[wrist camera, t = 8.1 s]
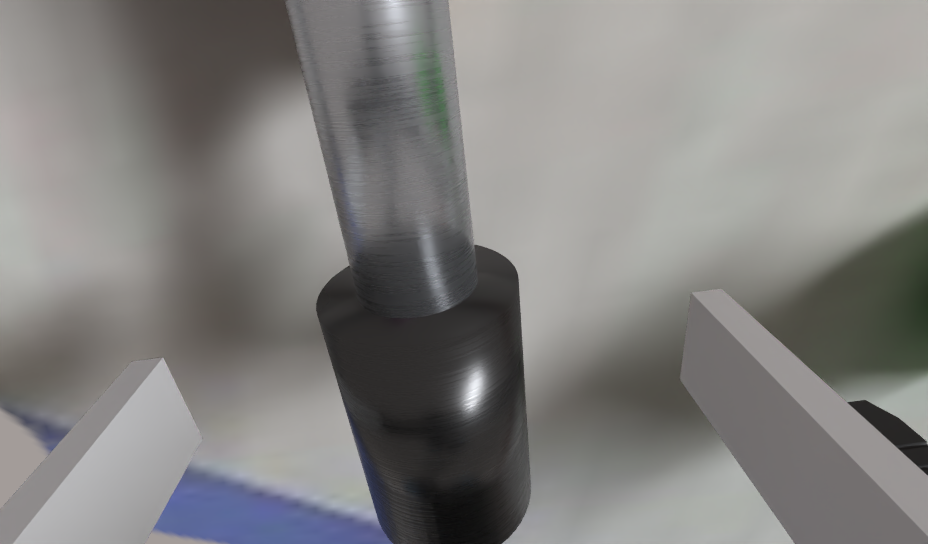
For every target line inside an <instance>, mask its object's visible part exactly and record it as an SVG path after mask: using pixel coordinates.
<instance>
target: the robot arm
mask: <svg viewBox="0 0 928 544" xmlns="http://www.w3.org/2000/svg"><path fill="white" fill-rule="evenodd" d="M680 380H681V382H682V383H683V385H684V386H685V388H686V389H687V390H688V392H689V393H690V395H691V396H692V398H693V399H694V400H695V402H696V403H697V405H698V406H699V408H700V409H701V410H702V412H703V413H704V415H705V416H706V417H707V419H708V420H709V422H710V423H711V425H712V426H713V427H714V429H715V430H716V432H717V433H718V435H719V436H720V437H721V439H722V440H723V442H724V443H725V445H726V446H727V447H728V449H729V450H730V452H731V453H732V455H733V456H734V457H735V459H736V460H737V462H738V463H739V465H740V466H741V467H742V469H743V470H744V472H745V473H746V475H747V476H748V477H749V479H750V480H751V482H752V483H753V484H754V486H755V487H756V489H757V490H758V492H759V493H760V494H761V496H762V497H763V499H764V500H765V502H766V503H767V504H768V506H769V507H770V509H771V510H772V512H773V513H774V514H775V516H776V517H777V519H778V520H779V522H780V523H781V524H782V526H783V527H784V529H785V530H786V532H787V533H788V534H789V536H790V537H791V539H792V540H793V541H794V543H795V544H928V445H927V441H925V440H924V439H923V438H922V437H921V436H920V435H918V434H917V433H916V432H915V431H914V430H912V429H911V428H910V427H909V426H908V425H906V424H905V423H904V422H903V421H902V420H900V419H899V418H898V417H896V416H894V415H892V414H890V413H888V412H886V411H885V410H883V409H881V408H879V407H877V406H875V405H873V404H871V403H870V402H868V401H866V400H862V401H854V402H846V401H845V400H844V399H843V398H842V397H840V396H839V395H838V394H837V393H836V392H835V391H834V390H833V389H832V388H831V387H829V386H828V385H827V384H826V383H825V382H824V381H823V380H822V379H821V378H820V377H818V376H817V375H816V374H815V373H814V372H813V371H812V370H811V369H810V368H809V367H807V366H806V365H805V364H804V363H803V362H802V361H801V360H800V359H799V358H798V357H796V356H795V355H794V354H793V353H792V352H791V351H790V350H789V349H788V348H787V347H785V346H784V345H783V344H782V343H781V342H780V341H779V340H778V339H777V338H775V337H774V336H773V335H772V334H771V333H770V332H769V331H768V330H767V329H766V328H764V327H763V326H762V325H761V324H760V323H759V322H758V321H757V320H756V319H755V318H753V317H752V316H751V315H750V314H749V313H748V312H747V311H746V310H745V309H744V308H742V307H741V306H740V305H739V304H738V303H737V302H736V301H735V300H734V299H733V298H731V297H730V296H729V295H728V294H727V293H726V292H725V291H724V290H723V289H715V290H707V291H699V292H691V296H690V304H689V312H688V320H687V327H686V335H685V343H684V350H683V358H682V366H681V374H680ZM202 439H203V438H202V436H201V434H200V432H199V430H198V428H197V426H196V423H195V421H194V419H193V417H192V415H191V413H190V411H189V409H188V407H187V405H186V403H185V401H184V399H183V397H182V395H181V393H180V391H179V389H178V387H177V385H176V383H175V381H174V379H173V377H172V375H171V373H170V371H169V369H168V367H167V365H166V363H165V361H164V358H155V359H147V360H138V361H132V362H131V363H130V364H129V365H128V366H127V367H126V369H125V370H124V371H123V372H122V373H121V374H120V375H119V376H118V378H117V379H116V380H115V381H114V382H113V383H112V384H111V385H110V387H109V388H108V389H107V390H106V391H105V392H104V393H103V394H102V396H101V397H100V398H99V399H98V400H97V401H96V402H95V403H94V405H93V406H92V407H91V408H90V409H89V410H88V411H87V412H86V414H85V415H84V416H83V417H82V418H81V419H80V420H79V421H78V422H77V424H76V425H75V426H74V427H73V428H72V429H71V430H70V431H69V433H68V434H67V435H66V436H65V437H64V438H63V439H62V440H61V442H60V443H59V444H58V445H57V446H56V447H55V448H54V449H53V451H52V452H51V453H50V454H49V455H48V456H47V457H46V459H45V460H44V461H43V462H42V463H41V464H40V465H39V466H38V468H37V469H36V470H35V471H34V472H33V473H32V474H31V475H30V477H29V478H28V479H27V480H26V481H25V482H24V483H23V484H22V485H21V487H20V488H19V489H18V490H17V491H16V492H15V493H14V494H13V496H12V497H11V498H10V499H9V500H8V501H7V502H6V503H5V505H4V506H3V507H2V508H1V509H0V544H145V543H146V541H147V539H148V537H149V535H150V534H151V532H152V530H153V528H154V526H155V524H156V523H157V521H158V519H159V517H160V515H161V514H162V512H163V510H164V508H165V506H166V505H167V503H168V501H169V499H170V497H171V495H172V494H173V492H174V490H175V488H176V486H177V485H178V483H179V481H180V479H181V477H182V476H183V474H184V472H185V470H186V468H187V466H188V465H189V463H190V461H191V459H192V457H193V456H194V454H195V452H196V450H197V448H198V447H199V445H200V443H201V441H202Z"/></svg>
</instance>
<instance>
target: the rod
mask: <svg viewBox="0 0 928 544" xmlns="http://www.w3.org/2000/svg"><path fill="white" fill-rule="evenodd" d="M285 4H286V8H287V12H288V16H289V20H290V24H291V28H292V32H293V36H294V40H295V44H296V48H297V52H298V57H299V61H300V65H301V69H302V73H303V77H304V81H305V85H306V89H307V93H308V97H309V101H310V105H311V109H312V114H313V118H314V122H315V126H316V130H317V134H318V138H319V142H320V146H321V150H322V154H323V158H324V162H325V167H326V171H327V175H328V179H329V183H330V187H331V191H332V195H333V199H334V203H335V207H336V211H337V215H338V220H339V224H340V228H341V232H342V236H343V240H344V244H345V248H346V252H347V256H348V260H349V264H350V266H348V267H347V268H345V269H343V270H342V271H340V272H339V273H338V274H337V275H335V276H334V277H333V278H332V279H331V280H330V281H329V282H328V283H327V284H326V285H325V287H324V288H323V289H322V291H321V293H320V295H319V296H318V300H317V303H316V311H317V315H318V318H319V322H320V325H321V329H322V332H323V335H324V339H325V342H326V345H327V349H328V352H329V355H330V359H331V362H332V366H333V369H334V372H335V376H336V379H337V382H338V386H339V389H340V392H341V396H342V399H343V403H344V406H345V409H346V413H347V416H348V419H349V423H350V426H351V429H352V433H353V436H354V440H355V443H356V446H357V450H358V453H359V456H360V460H361V463H362V466H363V470H364V473H365V476H366V480H367V483H368V487H369V490H370V493H371V497H372V500H373V503H374V507H375V510H376V513H377V517H378V520H379V523H380V525H381V527H382V529H383V531H384V532H385V534H386V535H387V537H388V538H389V539H390V540H391V541H392V543H393V544H502V543H503V542H504V541H505V540H506V539H508V538H509V537H510V535H511V534H512V533H513V532H514V531H515V530H516V528H517V527H518V526H519V524H520V523H521V521H522V519H523V517H524V515H525V513H526V510H527V507H528V504H529V500H530V494H531V481H530V464H529V447H528V431H527V414H526V397H525V380H524V363H523V347H522V330H521V313H520V296H519V279H518V274H517V271H516V269H515V267H514V265H513V264H512V263H511V262H510V261H509V260H508V259H507V258H506V257H504V256H503V255H501V254H499V253H498V252H496V251H493V250H491V249H488V248H485V247H482V246H478V245H474V239H473V230H472V220H471V211H470V201H469V192H468V182H467V173H466V163H465V154H464V144H463V135H462V125H461V116H460V106H459V97H458V87H457V78H456V68H455V59H454V49H453V40H452V30H451V21H450V12H449V2H448V0H285Z"/></svg>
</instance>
